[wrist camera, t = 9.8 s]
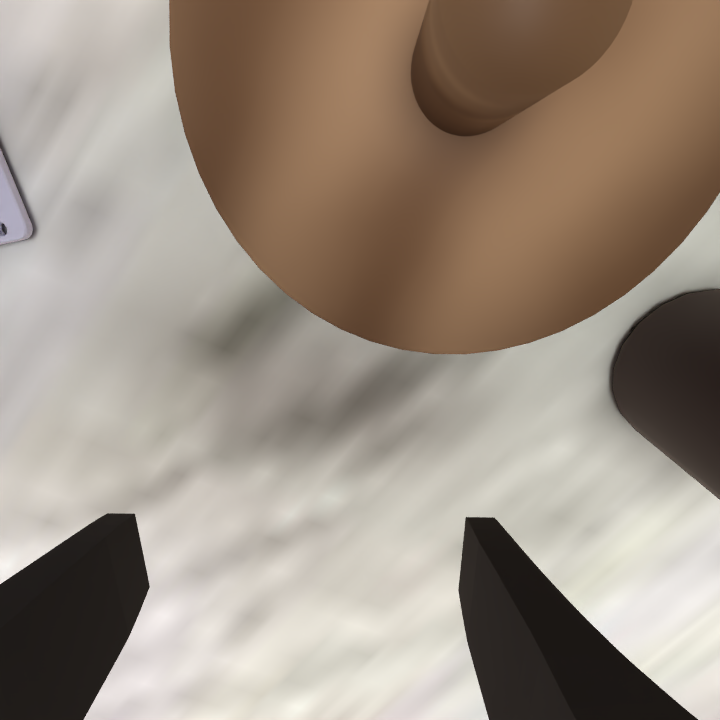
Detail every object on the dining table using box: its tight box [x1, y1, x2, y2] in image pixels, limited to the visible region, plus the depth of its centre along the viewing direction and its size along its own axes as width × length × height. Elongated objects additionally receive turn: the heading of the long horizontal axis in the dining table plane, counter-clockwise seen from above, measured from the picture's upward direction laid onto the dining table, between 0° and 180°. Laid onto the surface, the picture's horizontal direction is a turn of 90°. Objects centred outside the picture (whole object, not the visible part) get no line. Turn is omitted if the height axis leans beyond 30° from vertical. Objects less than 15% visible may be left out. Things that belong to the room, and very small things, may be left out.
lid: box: [169, 0, 720, 354], centre depth 9 cm, size 15×15×5 cm
